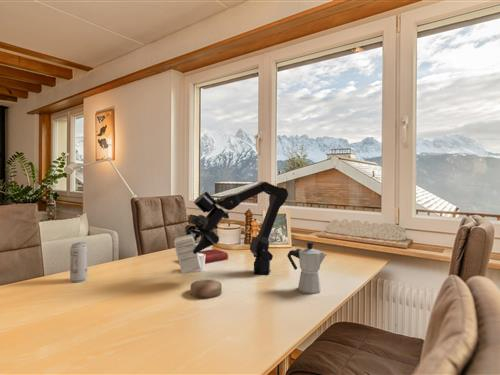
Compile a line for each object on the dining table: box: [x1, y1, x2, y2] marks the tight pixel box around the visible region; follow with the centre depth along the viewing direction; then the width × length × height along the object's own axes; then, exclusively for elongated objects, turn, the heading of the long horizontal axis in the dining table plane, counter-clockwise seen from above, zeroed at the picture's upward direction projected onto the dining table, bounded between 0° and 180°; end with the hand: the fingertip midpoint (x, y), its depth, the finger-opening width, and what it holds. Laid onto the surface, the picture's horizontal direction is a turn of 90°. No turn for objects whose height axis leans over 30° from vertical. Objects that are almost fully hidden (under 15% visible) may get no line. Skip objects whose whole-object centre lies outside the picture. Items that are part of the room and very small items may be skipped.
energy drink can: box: [69, 241, 88, 283], centre depth 125 cm, size 6×6×15 cm
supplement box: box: [173, 234, 201, 274], centre depth 121 cm, size 7×7×13 cm
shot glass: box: [192, 253, 206, 273], centre depth 141 cm, size 7×7×7 cm
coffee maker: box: [286, 241, 328, 295], centre depth 117 cm, size 15×9×18 cm, turn 71°
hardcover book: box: [198, 248, 229, 265], centre depth 159 cm, size 12×21×4 cm, turn 130°
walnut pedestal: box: [190, 279, 223, 300], centre depth 113 cm, size 11×11×3 cm
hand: (187, 250), depth 121 cm, fingers closed on supplement box, 9 cm apart
